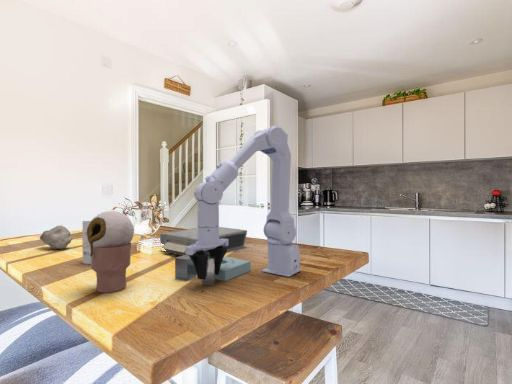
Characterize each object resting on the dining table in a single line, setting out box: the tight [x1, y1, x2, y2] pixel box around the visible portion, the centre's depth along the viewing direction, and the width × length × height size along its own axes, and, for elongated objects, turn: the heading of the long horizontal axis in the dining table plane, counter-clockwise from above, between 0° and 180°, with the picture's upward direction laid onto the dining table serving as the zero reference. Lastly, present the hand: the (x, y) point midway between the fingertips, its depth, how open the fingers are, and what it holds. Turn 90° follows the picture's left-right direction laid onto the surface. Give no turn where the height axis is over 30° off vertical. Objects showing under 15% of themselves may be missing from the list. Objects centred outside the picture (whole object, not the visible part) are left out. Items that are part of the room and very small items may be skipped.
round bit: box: [201, 256, 216, 287], centre depth 79 cm, size 3×3×7 cm
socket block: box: [196, 256, 252, 282], centre depth 90 cm, size 15×12×3 cm
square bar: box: [174, 255, 197, 282], centre depth 84 cm, size 4×4×6 cm
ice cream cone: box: [86, 210, 135, 294], centre depth 75 cm, size 11×11×20 cm
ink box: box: [81, 220, 91, 265], centre depth 101 cm, size 8×5×15 cm, turn 72°
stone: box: [39, 224, 73, 250], centre depth 124 cm, size 9×14×10 cm, turn 59°
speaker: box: [159, 226, 248, 256], centre depth 121 cm, size 24×8×30 cm
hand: (208, 276), depth 79 cm, fingers open, 5 cm apart
